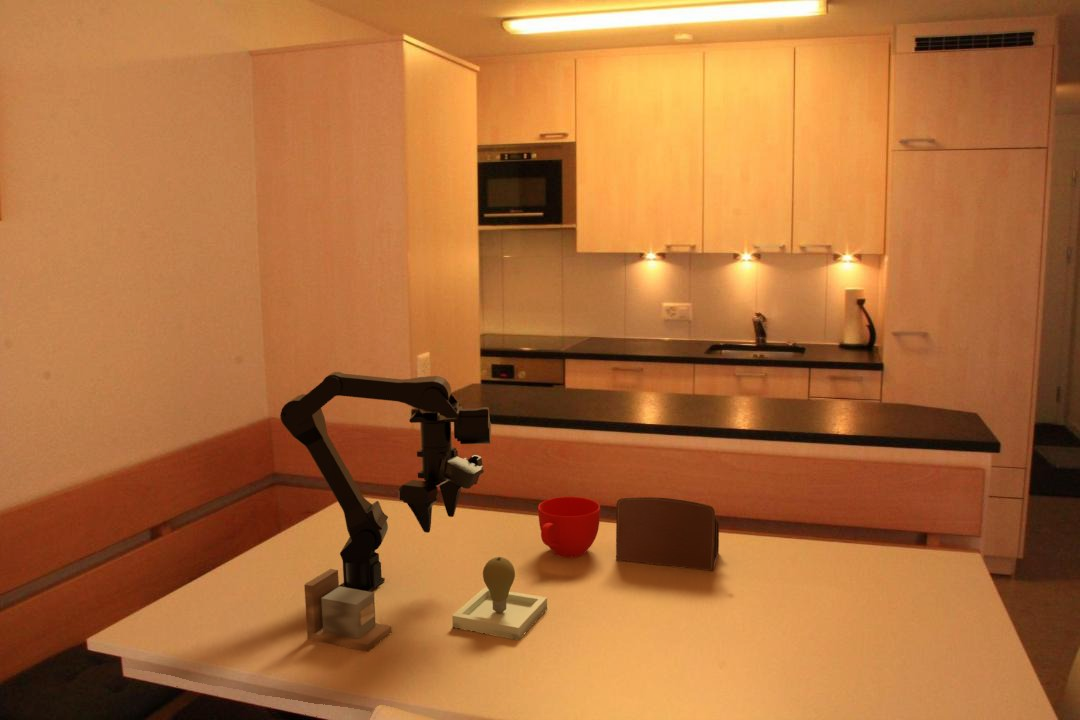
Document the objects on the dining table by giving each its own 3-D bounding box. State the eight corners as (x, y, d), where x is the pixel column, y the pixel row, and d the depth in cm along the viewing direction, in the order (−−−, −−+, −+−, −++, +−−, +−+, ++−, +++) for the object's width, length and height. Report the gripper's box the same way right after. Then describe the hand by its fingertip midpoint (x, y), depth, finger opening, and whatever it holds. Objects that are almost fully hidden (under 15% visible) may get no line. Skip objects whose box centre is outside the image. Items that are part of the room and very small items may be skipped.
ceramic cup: (516, 562, 172) (515, 515, 170) (558, 536, 186) (558, 493, 184) (571, 575, 165) (571, 526, 163) (611, 547, 179) (610, 502, 177)
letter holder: (713, 572, 166) (715, 503, 164) (615, 561, 172) (615, 495, 170) (719, 553, 175) (720, 488, 173) (625, 544, 181) (625, 481, 179)
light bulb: (518, 617, 145) (517, 562, 143) (486, 621, 144) (485, 566, 142) (512, 603, 150) (511, 550, 149) (481, 607, 149) (480, 553, 148)
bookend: (307, 638, 141) (304, 584, 139) (333, 620, 147) (330, 568, 146) (368, 651, 136) (365, 595, 135) (391, 632, 142) (389, 578, 141)
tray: (452, 627, 144) (452, 615, 143) (485, 598, 155) (484, 587, 155) (518, 640, 139) (518, 627, 139) (547, 609, 150) (547, 597, 150)
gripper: (450, 461, 146) (453, 546, 148) (496, 436, 163) (498, 513, 165) (395, 455, 150) (398, 538, 153) (446, 431, 167) (448, 507, 170)
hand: (439, 524), depth 160 cm, fingers open, 9 cm apart
